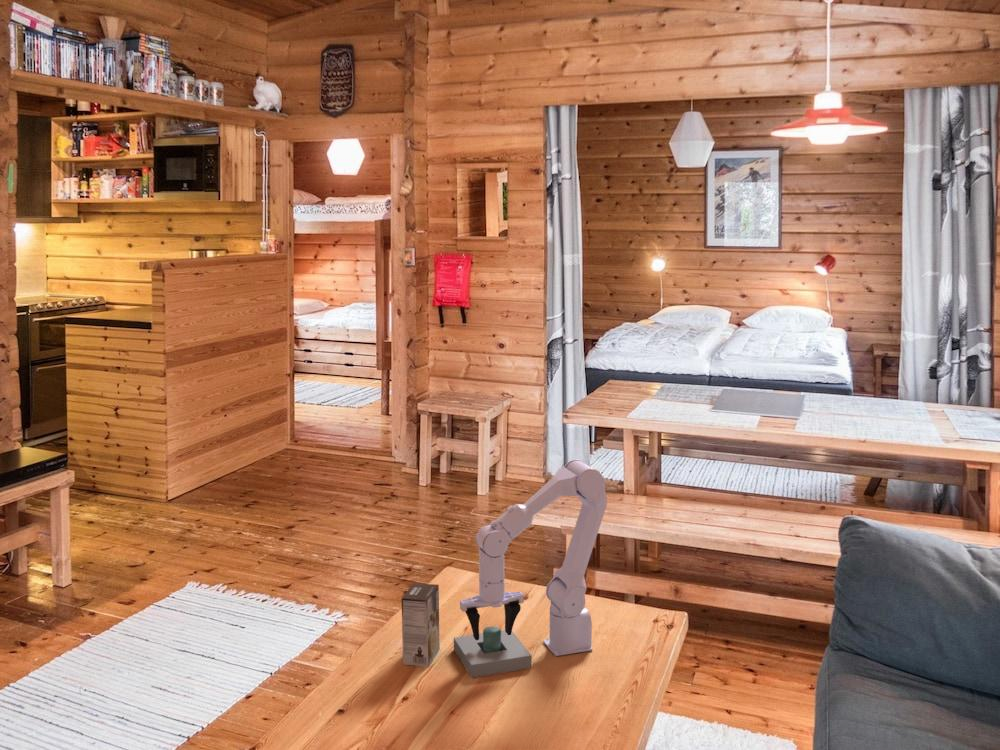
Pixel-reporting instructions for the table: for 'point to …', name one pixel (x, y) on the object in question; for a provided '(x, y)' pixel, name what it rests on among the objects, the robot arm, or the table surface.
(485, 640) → the peg
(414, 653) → the coffee box
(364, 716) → the table surface
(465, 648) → the socket
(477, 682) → the table surface
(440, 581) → the table surface
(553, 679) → the table surface
